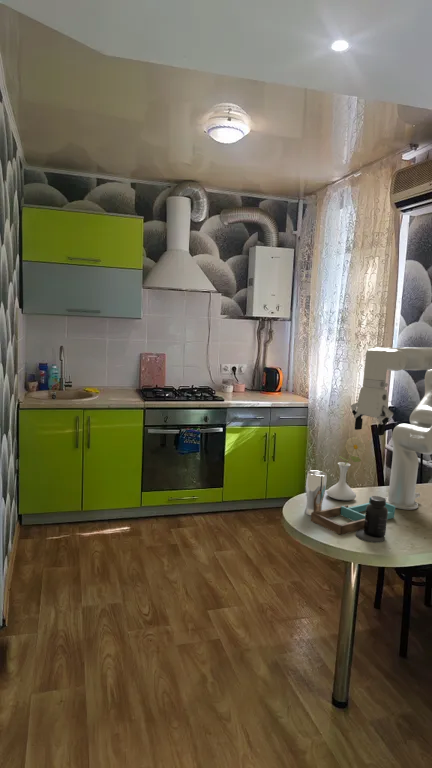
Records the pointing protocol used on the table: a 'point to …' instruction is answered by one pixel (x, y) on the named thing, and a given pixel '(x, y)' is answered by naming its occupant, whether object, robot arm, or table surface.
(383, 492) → the table surface
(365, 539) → the coaster
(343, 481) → the flower in vase
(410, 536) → the table surface
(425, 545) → the table surface
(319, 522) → the walnut cubby
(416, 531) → the table surface
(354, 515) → the teal drawer
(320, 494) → the beer glass
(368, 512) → the supplement bottle
